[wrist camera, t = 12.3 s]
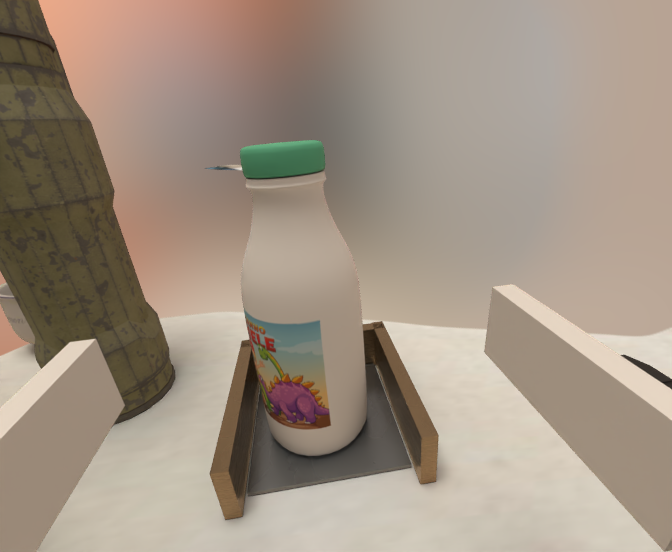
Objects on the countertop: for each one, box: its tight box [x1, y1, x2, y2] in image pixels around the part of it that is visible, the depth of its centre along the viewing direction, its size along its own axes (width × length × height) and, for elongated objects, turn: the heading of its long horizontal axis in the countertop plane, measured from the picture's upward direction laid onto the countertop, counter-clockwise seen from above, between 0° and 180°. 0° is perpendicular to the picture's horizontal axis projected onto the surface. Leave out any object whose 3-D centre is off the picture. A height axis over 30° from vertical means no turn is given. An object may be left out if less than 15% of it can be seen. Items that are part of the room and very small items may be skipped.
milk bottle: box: [240, 140, 367, 456], centre depth 22 cm, size 8×8×20 cm
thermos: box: [0, 0, 175, 425], centre depth 24 cm, size 9×12×35 cm
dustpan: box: [210, 321, 438, 520], centre depth 26 cm, size 15×13×8 cm
